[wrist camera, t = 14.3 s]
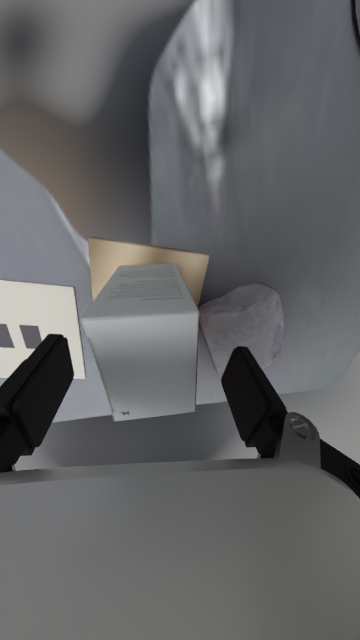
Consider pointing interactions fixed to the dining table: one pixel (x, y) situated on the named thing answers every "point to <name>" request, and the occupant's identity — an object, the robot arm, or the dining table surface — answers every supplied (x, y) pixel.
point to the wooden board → (143, 262)
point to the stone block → (243, 325)
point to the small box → (145, 341)
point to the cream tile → (36, 322)
